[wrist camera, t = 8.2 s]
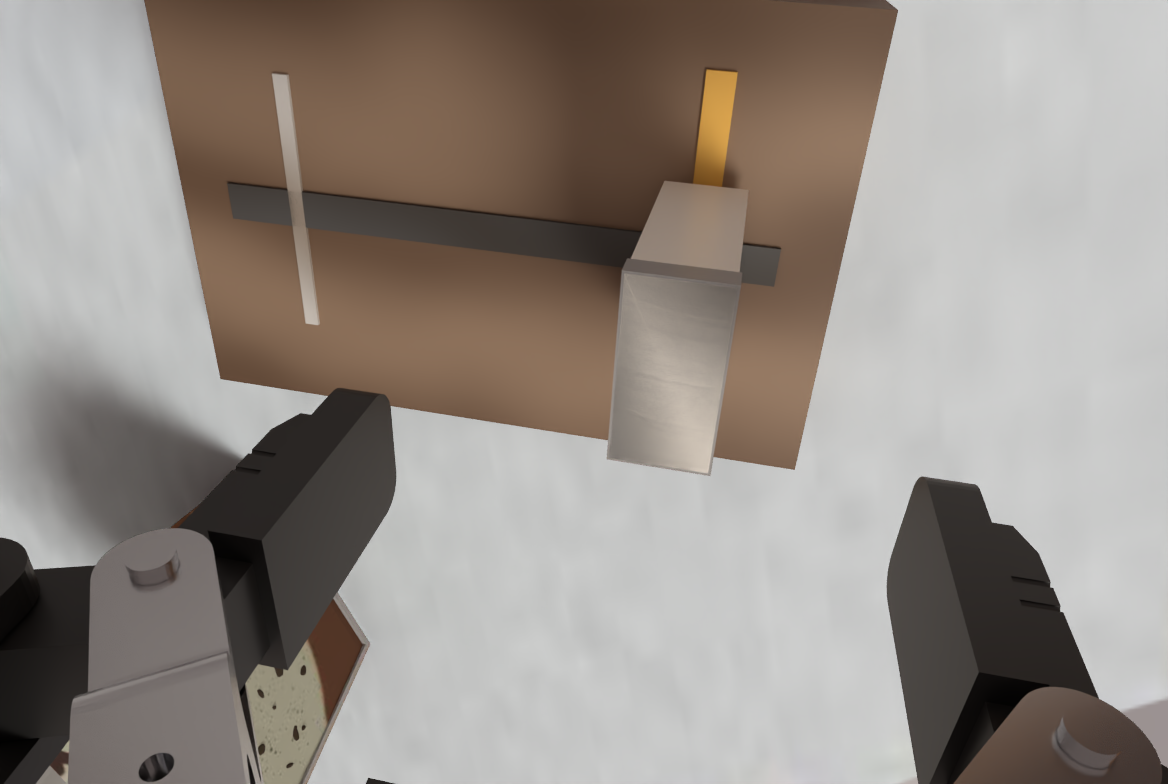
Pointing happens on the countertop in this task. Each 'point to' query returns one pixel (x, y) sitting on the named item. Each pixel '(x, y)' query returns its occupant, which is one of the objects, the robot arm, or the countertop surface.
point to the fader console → (511, 189)
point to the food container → (291, 699)
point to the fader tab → (677, 328)
